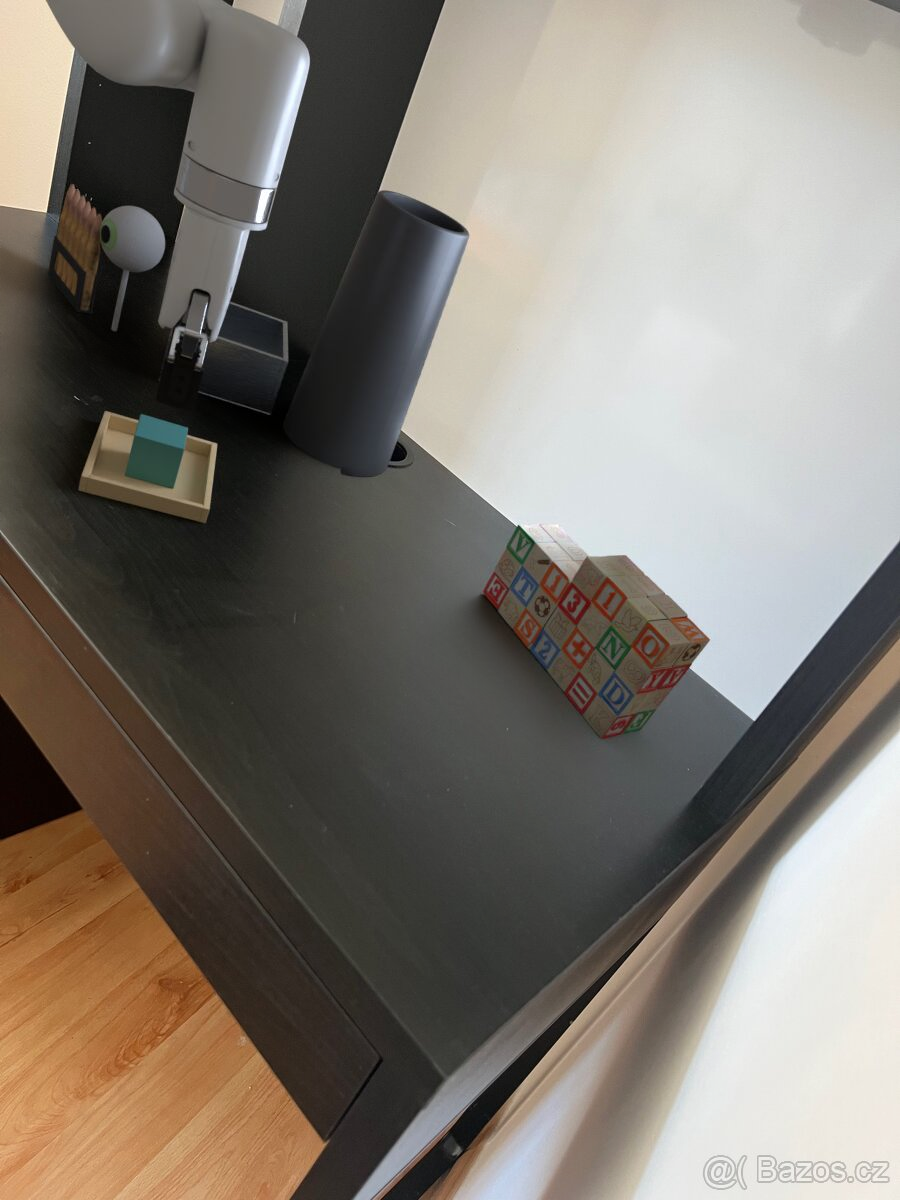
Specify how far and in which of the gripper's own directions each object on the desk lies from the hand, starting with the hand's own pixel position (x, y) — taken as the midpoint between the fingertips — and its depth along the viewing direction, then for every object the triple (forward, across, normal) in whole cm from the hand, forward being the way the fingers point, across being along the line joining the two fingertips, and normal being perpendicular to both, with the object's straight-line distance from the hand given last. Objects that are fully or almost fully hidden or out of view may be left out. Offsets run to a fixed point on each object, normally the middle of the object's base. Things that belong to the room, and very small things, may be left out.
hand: (179, 382), depth 77 cm
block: (+10, 0, -1) cm, 10 cm away
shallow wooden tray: (+10, 0, -1) cm, 10 cm away
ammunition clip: (+10, -39, -15) cm, 43 cm away
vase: (+11, -19, +19) cm, 29 cm away
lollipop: (+10, -32, -9) cm, 35 cm away
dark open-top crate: (+10, -27, +4) cm, 29 cm away
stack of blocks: (+11, +14, +41) cm, 45 cm away
